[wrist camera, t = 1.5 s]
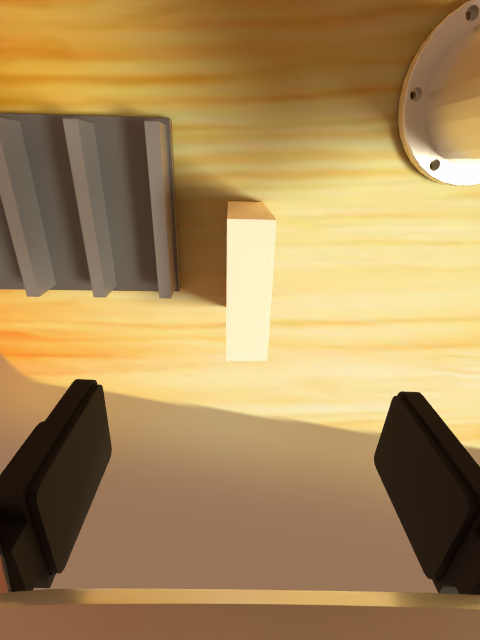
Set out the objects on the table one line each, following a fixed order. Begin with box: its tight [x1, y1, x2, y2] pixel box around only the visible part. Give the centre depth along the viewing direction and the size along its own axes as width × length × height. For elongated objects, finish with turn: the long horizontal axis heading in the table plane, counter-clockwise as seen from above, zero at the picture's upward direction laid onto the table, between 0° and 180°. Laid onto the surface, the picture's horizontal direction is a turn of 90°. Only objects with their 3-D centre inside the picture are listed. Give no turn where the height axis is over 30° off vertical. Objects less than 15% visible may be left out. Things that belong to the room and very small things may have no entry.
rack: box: [0, 113, 181, 298], centre depth 27 cm, size 18×14×4 cm
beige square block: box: [226, 201, 277, 361], centre depth 27 cm, size 3×10×10 cm, turn 179°
